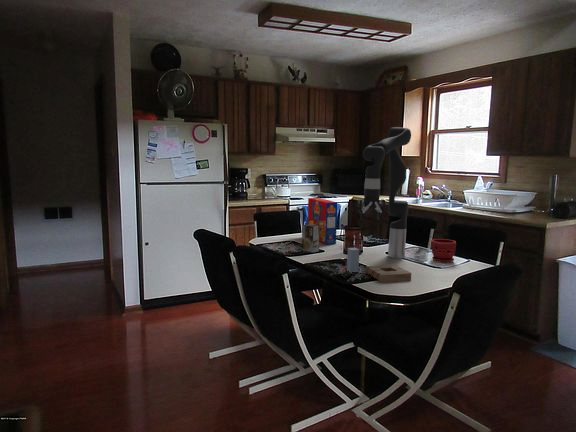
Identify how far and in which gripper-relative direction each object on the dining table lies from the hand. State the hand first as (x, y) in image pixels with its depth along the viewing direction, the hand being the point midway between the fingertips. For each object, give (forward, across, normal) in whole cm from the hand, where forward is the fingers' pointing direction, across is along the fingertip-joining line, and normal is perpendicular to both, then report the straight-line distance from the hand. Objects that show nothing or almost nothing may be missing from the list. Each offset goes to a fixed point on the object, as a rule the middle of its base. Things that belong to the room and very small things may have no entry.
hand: (370, 220), depth 206 cm
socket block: (+27, -7, +7) cm, 29 cm away
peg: (+27, +6, -5) cm, 28 cm away
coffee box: (+27, +12, -53) cm, 61 cm away
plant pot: (+27, -53, -12) cm, 61 cm away
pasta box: (+27, -6, -80) cm, 85 cm away
